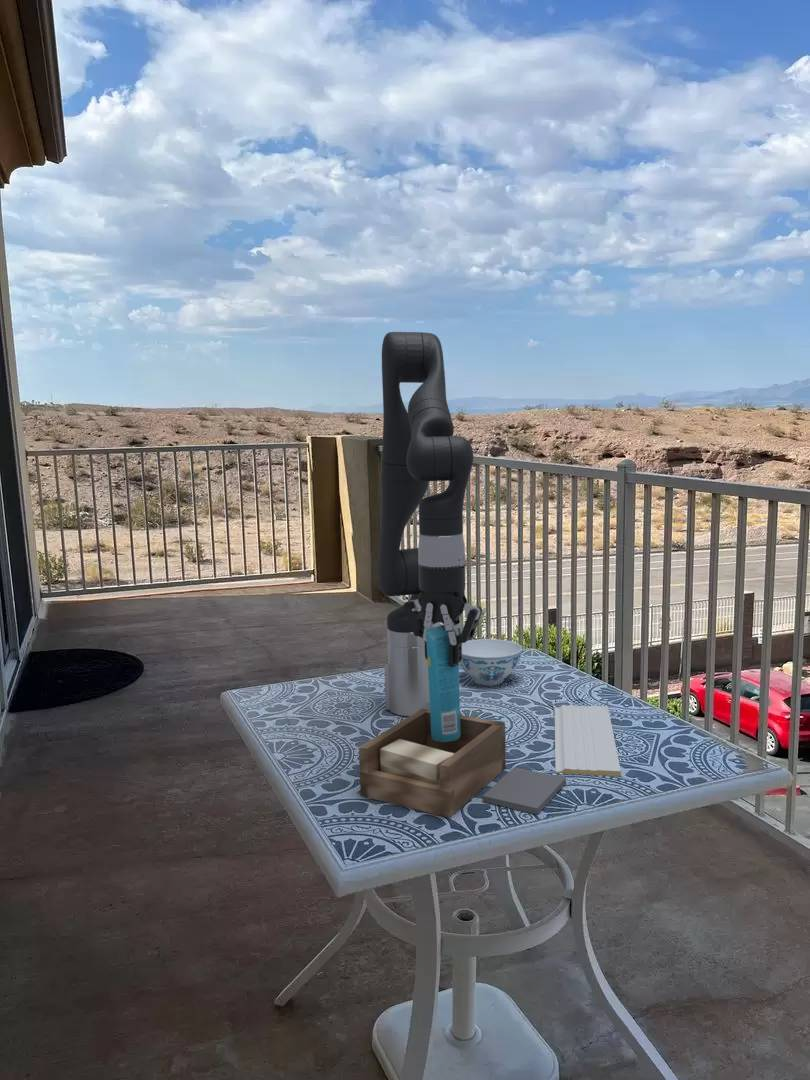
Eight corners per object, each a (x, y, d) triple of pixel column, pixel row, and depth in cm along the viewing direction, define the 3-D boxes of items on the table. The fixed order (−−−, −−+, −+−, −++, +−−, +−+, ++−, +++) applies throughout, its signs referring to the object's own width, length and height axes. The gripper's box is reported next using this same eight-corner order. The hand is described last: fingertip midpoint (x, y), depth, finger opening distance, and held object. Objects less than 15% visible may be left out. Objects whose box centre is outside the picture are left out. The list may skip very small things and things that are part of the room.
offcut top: (380, 763, 131) (380, 748, 131) (400, 753, 135) (399, 738, 135) (436, 780, 124) (436, 764, 124) (455, 769, 128) (455, 753, 128)
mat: (482, 801, 127) (482, 795, 127) (514, 772, 137) (514, 767, 137) (537, 814, 122) (537, 808, 122) (565, 783, 133) (565, 777, 132)
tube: (447, 727, 142) (444, 618, 139) (470, 733, 138) (468, 622, 136) (420, 741, 136) (416, 627, 133) (443, 747, 133) (440, 632, 130)
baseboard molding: (546, 776, 137) (620, 780, 135) (546, 759, 137) (621, 763, 134) (547, 711, 167) (608, 713, 165) (547, 697, 167) (608, 699, 165)
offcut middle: (381, 779, 131) (380, 764, 131) (398, 768, 135) (397, 753, 135) (440, 794, 125) (440, 779, 125) (456, 782, 129) (456, 767, 129)
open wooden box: (360, 795, 130) (358, 747, 129) (423, 751, 147) (422, 708, 146) (449, 818, 122) (448, 766, 121) (505, 768, 139) (505, 722, 138)
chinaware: (529, 674, 191) (528, 641, 190) (513, 694, 177) (513, 659, 176) (466, 668, 196) (466, 637, 195) (447, 687, 182) (446, 654, 181)
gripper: (392, 561, 133) (394, 664, 136) (470, 568, 126) (471, 676, 129) (415, 554, 140) (417, 652, 142) (491, 560, 132) (492, 663, 135)
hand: (443, 663), depth 135 cm, fingers closed on tube, 3 cm apart
